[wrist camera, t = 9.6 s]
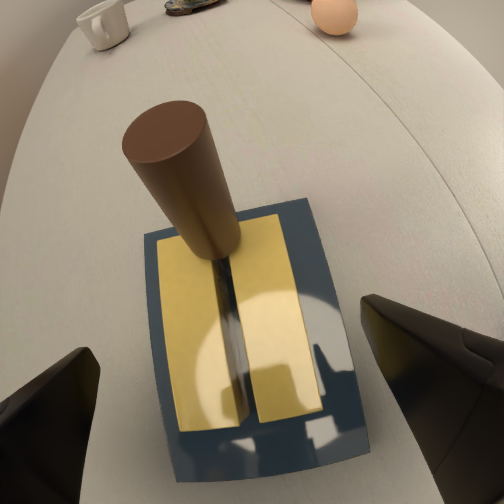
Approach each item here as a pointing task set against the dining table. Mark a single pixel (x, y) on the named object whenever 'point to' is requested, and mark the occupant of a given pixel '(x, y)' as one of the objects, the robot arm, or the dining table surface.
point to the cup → (105, 24)
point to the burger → (184, 6)
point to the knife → (185, 176)
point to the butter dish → (327, 361)
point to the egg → (334, 15)
